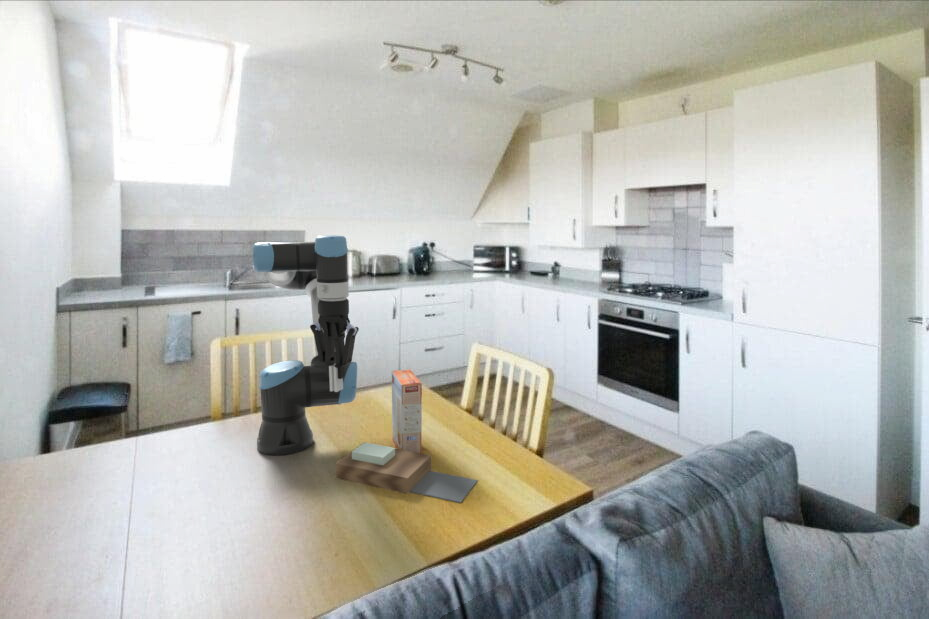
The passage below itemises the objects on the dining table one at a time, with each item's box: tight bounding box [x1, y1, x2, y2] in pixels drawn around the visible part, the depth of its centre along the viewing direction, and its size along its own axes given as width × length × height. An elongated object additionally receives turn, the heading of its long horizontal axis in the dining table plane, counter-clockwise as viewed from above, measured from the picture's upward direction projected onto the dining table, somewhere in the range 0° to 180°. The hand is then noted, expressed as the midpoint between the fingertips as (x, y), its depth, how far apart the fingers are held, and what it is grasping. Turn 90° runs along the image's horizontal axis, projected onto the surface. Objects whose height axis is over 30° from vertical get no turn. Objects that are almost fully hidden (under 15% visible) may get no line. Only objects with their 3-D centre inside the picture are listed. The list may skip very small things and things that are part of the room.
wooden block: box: [334, 443, 432, 495], centre depth 135 cm, size 20×13×4 cm, turn 69°
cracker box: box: [391, 369, 423, 454], centre depth 148 cm, size 14×6×21 cm, turn 18°
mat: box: [409, 470, 478, 504], centre depth 129 cm, size 13×11×1 cm
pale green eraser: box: [351, 442, 396, 465], centre depth 135 cm, size 9×6×2 cm, turn 69°
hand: (336, 389), depth 136 cm, fingers closed
